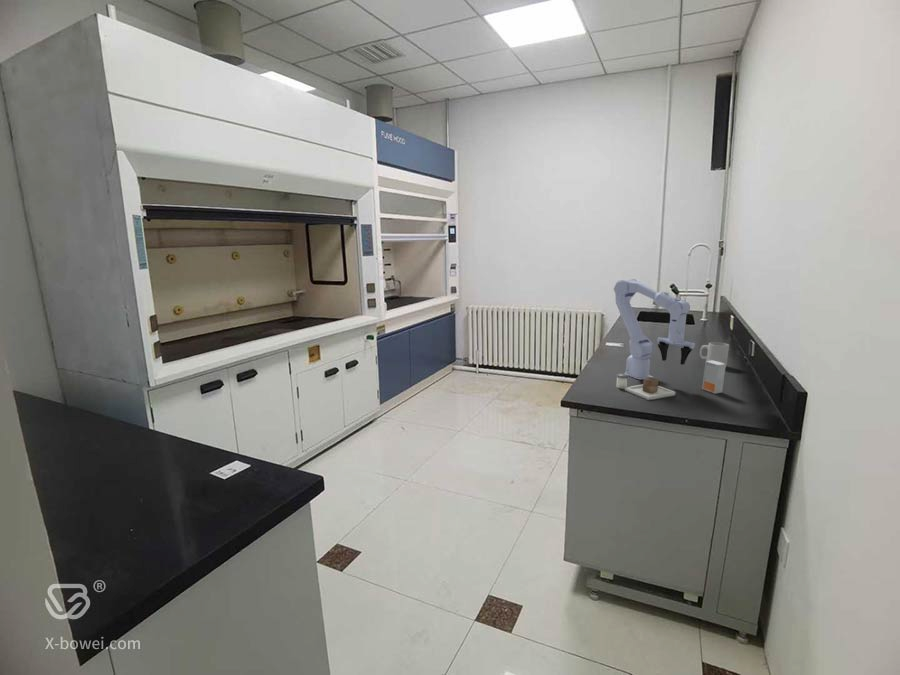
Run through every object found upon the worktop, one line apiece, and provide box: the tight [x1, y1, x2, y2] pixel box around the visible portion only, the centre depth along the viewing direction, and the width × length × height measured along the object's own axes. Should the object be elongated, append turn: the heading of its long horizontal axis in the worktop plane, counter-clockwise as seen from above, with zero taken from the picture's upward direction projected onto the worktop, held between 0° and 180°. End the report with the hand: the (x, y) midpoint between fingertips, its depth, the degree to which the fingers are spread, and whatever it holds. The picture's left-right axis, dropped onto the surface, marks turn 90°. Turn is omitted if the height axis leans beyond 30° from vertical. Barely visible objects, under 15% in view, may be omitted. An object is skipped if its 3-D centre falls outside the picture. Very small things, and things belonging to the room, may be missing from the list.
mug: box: [699, 341, 730, 369], centre depth 214 cm, size 12×8×11 cm
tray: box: [624, 383, 676, 401], centre depth 177 cm, size 12×14×1 cm
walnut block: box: [642, 377, 659, 394], centre depth 177 cm, size 4×4×5 cm
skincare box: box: [701, 360, 727, 394], centre depth 178 cm, size 6×4×12 cm
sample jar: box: [615, 373, 629, 390], centre depth 184 cm, size 4×4×5 cm
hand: (673, 362), depth 184 cm, fingers open, 7 cm apart
